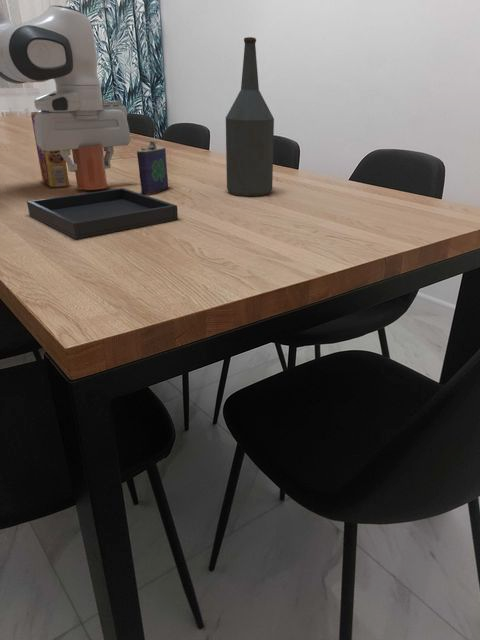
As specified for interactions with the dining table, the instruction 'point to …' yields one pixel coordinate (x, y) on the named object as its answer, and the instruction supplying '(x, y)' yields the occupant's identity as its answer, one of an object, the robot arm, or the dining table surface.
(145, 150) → the flask
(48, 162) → the candy box
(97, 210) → the tray
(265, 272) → the dining table surface
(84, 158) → the cup
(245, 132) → the bottle
